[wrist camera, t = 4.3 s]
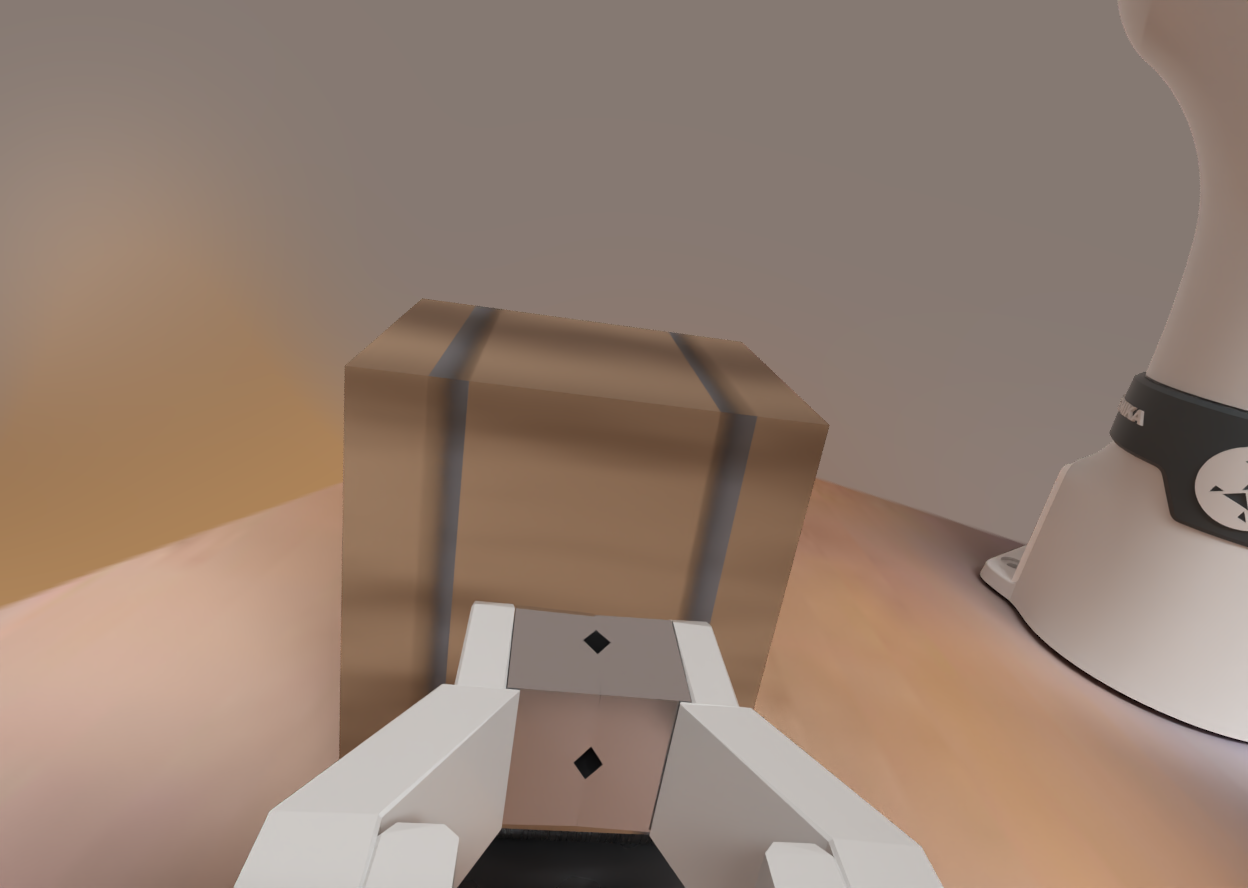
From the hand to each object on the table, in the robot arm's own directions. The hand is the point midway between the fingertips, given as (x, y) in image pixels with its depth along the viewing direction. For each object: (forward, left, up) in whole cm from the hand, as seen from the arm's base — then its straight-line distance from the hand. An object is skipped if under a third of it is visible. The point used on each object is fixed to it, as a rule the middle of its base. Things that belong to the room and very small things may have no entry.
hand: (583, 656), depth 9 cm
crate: (-7, -7, -10) cm, 15 cm away
